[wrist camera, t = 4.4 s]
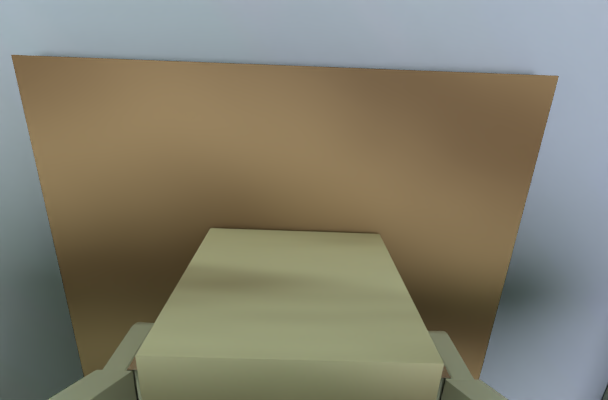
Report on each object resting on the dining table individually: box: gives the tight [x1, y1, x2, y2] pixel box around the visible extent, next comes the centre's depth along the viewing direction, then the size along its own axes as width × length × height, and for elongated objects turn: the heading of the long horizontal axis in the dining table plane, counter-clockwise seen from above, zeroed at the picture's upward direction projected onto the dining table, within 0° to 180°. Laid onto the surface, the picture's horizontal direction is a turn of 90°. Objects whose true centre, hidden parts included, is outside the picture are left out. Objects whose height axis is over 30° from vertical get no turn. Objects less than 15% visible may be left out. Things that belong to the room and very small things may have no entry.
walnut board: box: [11, 55, 559, 380], centre depth 12 cm, size 14×14×1 cm
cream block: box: [135, 228, 444, 400], centre depth 9 cm, size 5×5×5 cm
